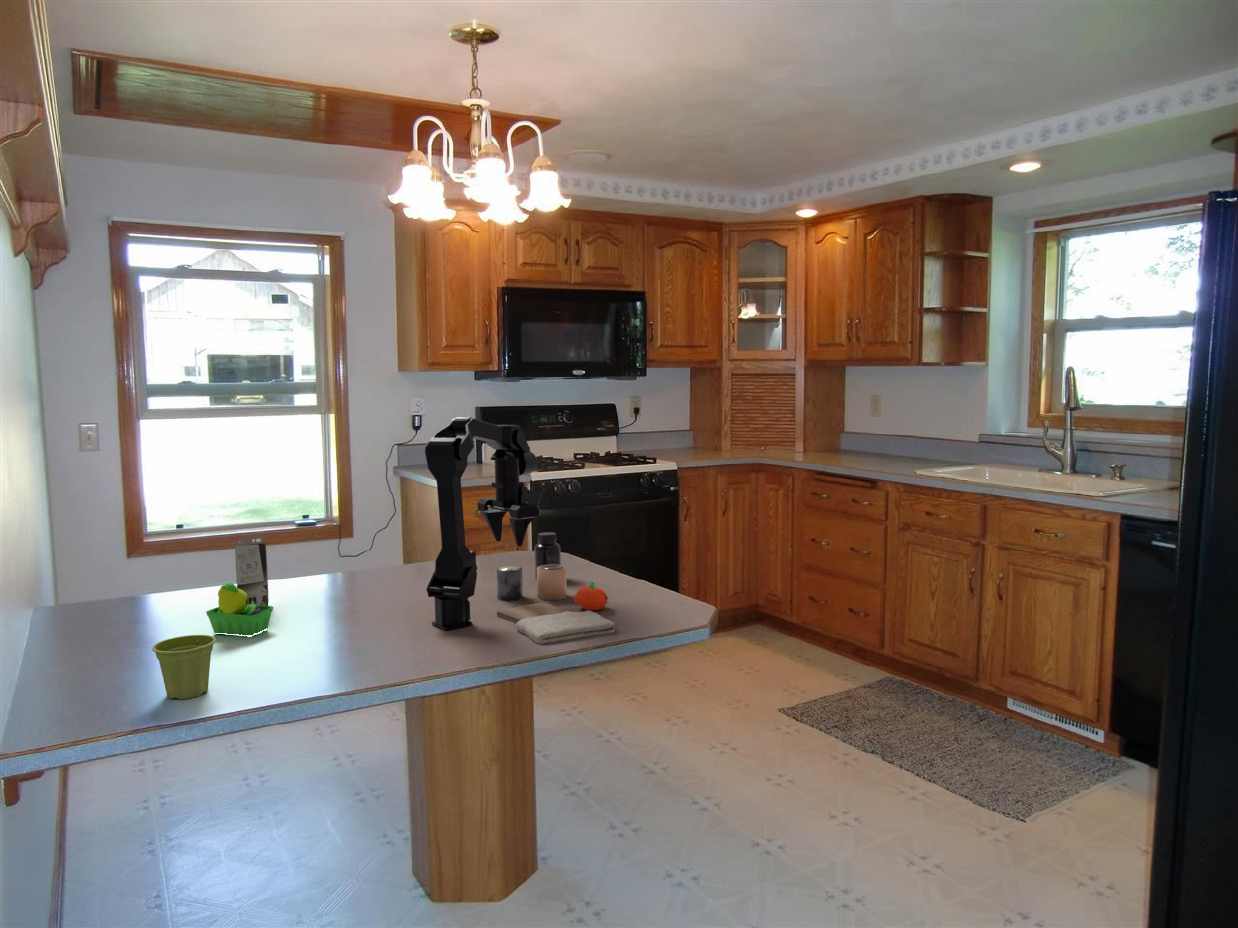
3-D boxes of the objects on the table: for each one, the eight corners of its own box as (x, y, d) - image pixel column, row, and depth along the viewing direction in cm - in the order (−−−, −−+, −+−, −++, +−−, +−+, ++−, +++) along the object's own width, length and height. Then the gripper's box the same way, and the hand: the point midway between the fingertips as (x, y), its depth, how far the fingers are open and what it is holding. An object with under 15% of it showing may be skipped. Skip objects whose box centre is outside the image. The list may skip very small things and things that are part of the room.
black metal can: (506, 601, 200) (505, 572, 200) (492, 597, 205) (491, 568, 204) (527, 597, 204) (526, 568, 203) (513, 593, 209) (513, 564, 208)
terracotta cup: (548, 601, 200) (547, 571, 199) (531, 596, 205) (531, 567, 205) (572, 596, 204) (572, 567, 204) (555, 591, 210) (555, 563, 209)
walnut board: (527, 627, 179) (527, 622, 179) (496, 615, 188) (496, 611, 188) (573, 616, 187) (573, 612, 187) (542, 606, 196) (542, 601, 196)
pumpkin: (593, 605, 199) (595, 577, 198) (612, 612, 192) (615, 584, 192) (566, 606, 194) (569, 578, 194) (585, 613, 188) (588, 584, 188)
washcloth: (618, 634, 175) (618, 619, 175) (537, 647, 167) (537, 632, 166) (592, 620, 186) (592, 606, 185) (515, 632, 177) (514, 617, 177)
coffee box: (269, 614, 192) (265, 542, 190) (237, 617, 190) (233, 545, 188) (269, 604, 200) (266, 536, 199) (239, 607, 198) (235, 538, 197)
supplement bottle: (563, 576, 227) (562, 531, 225) (558, 582, 220) (558, 535, 219) (537, 576, 227) (536, 531, 226) (532, 581, 220) (531, 535, 219)
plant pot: (160, 708, 136) (156, 655, 135) (151, 691, 143) (148, 641, 143) (223, 695, 141) (221, 644, 140) (212, 680, 149) (209, 631, 148)
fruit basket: (277, 629, 180) (274, 576, 179) (248, 642, 171) (245, 586, 170) (231, 626, 183) (228, 574, 182) (200, 638, 174) (197, 583, 173)
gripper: (558, 478, 200) (559, 544, 201) (514, 472, 214) (516, 534, 216) (517, 482, 193) (519, 550, 194) (475, 476, 207) (477, 540, 208)
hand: (508, 543), depth 203 cm, fingers open, 9 cm apart
